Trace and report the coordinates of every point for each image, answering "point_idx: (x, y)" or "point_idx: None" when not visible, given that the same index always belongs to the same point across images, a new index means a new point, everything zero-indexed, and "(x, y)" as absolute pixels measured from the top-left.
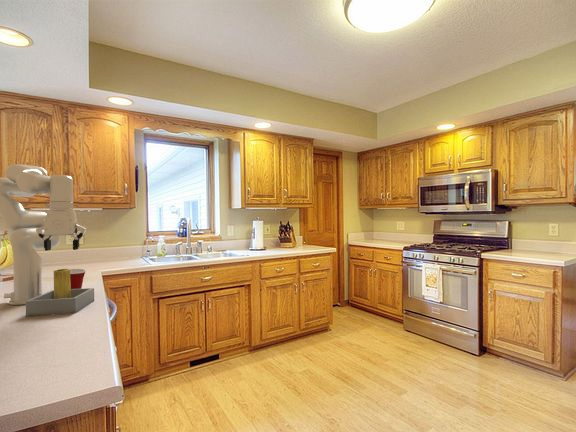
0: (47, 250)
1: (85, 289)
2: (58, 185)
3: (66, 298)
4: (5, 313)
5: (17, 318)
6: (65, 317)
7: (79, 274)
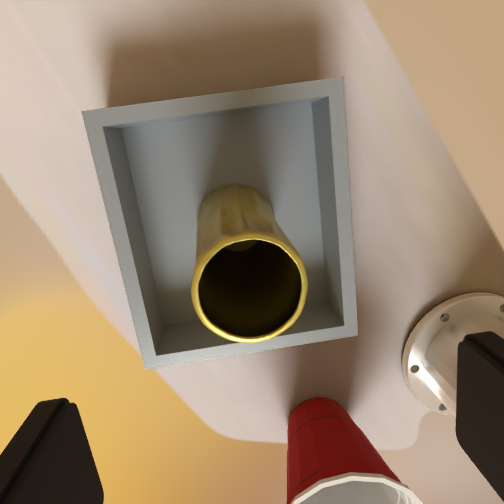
0: (462, 359)
1: (183, 349)
2: None
3: (137, 113)
4: (450, 162)
5: (343, 63)
6: (108, 39)
7: (291, 501)
